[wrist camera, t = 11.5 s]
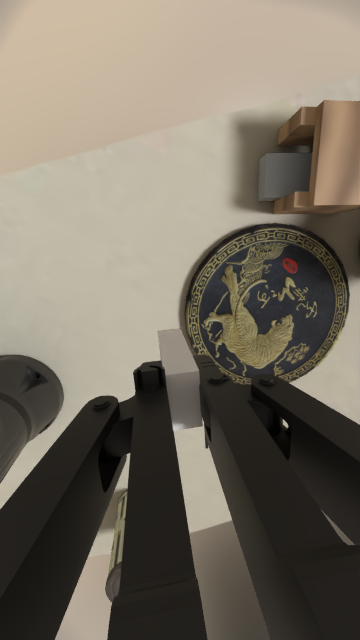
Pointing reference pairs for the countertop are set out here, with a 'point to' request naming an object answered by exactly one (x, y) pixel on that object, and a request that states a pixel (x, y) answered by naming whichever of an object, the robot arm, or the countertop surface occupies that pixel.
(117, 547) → the coffee can
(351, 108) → the wooden u-bracket
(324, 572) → the robot arm
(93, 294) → the countertop surface
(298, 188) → the grey rectangular block
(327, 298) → the decorative plate
